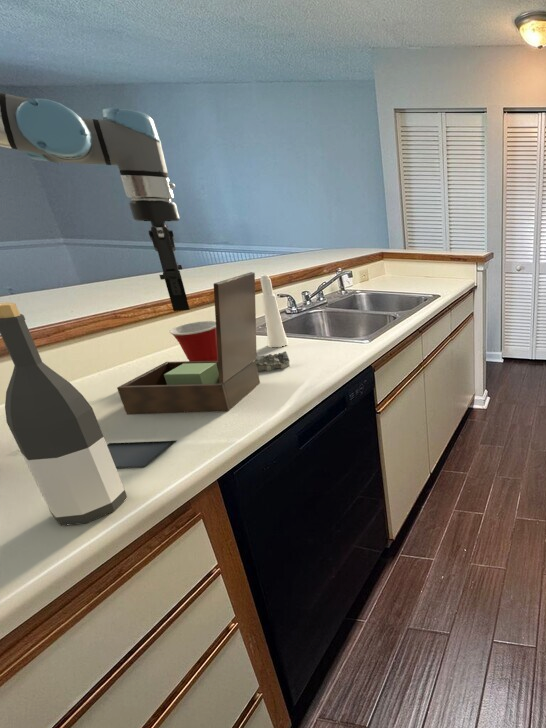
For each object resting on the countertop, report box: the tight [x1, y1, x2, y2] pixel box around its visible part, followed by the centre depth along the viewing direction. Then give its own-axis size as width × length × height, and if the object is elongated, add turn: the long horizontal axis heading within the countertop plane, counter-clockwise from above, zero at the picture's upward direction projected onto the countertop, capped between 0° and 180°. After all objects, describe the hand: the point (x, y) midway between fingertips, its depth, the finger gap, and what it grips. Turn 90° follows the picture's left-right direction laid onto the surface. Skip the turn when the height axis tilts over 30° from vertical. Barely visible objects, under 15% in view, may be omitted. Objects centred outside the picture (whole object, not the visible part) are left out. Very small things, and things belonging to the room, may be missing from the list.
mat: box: [106, 440, 177, 470], centre depth 76 cm, size 11×11×1 cm
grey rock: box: [255, 351, 291, 372], centre depth 114 cm, size 11×8×4 cm
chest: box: [116, 360, 261, 415], centre depth 95 cm, size 20×16×7 cm
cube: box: [164, 363, 220, 385], centre depth 94 cm, size 7×7×7 cm
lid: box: [213, 271, 258, 383], centre depth 91 cm, size 21×16×1 cm
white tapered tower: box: [259, 274, 289, 348], centre depth 131 cm, size 6×6×22 cm
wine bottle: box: [0, 302, 128, 527], centre depth 56 cm, size 8×8×30 cm
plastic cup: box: [169, 320, 218, 361], centre depth 113 cm, size 11×11×12 cm
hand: (180, 304), depth 93 cm, fingers open, 13 cm apart
